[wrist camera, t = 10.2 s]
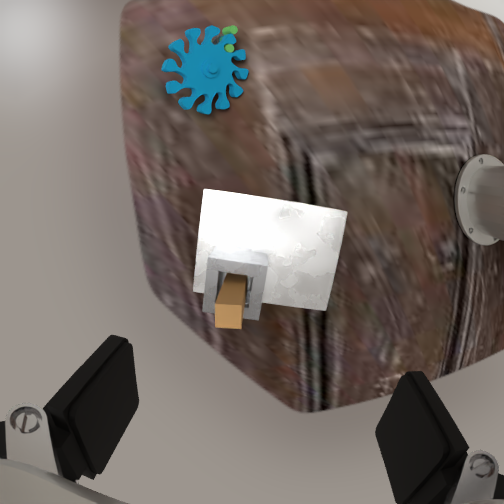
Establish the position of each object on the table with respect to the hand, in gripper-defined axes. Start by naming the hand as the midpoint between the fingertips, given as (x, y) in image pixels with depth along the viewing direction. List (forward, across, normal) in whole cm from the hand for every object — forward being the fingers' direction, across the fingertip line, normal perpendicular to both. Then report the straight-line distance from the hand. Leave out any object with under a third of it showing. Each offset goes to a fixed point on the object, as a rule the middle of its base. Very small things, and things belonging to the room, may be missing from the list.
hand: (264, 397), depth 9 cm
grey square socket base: (+26, 0, +2) cm, 26 cm away
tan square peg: (+25, +3, +5) cm, 25 cm away
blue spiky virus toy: (+26, +9, -18) cm, 33 cm away
